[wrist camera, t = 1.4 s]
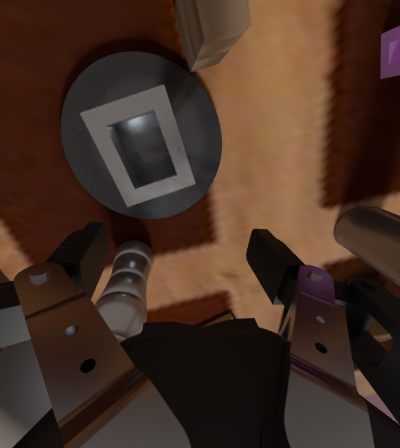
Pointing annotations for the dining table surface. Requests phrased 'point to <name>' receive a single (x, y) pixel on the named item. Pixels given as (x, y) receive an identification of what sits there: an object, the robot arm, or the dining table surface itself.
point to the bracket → (390, 53)
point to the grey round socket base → (141, 135)
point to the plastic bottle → (127, 290)
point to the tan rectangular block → (210, 29)
